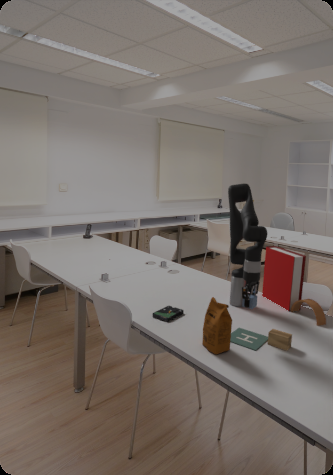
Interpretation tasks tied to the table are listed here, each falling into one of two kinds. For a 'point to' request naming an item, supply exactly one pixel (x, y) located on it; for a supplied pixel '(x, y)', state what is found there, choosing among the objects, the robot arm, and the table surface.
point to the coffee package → (217, 327)
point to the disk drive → (168, 313)
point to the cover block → (279, 339)
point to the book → (283, 276)
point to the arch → (315, 307)
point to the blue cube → (251, 302)
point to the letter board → (248, 338)
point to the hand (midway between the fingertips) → (249, 305)
